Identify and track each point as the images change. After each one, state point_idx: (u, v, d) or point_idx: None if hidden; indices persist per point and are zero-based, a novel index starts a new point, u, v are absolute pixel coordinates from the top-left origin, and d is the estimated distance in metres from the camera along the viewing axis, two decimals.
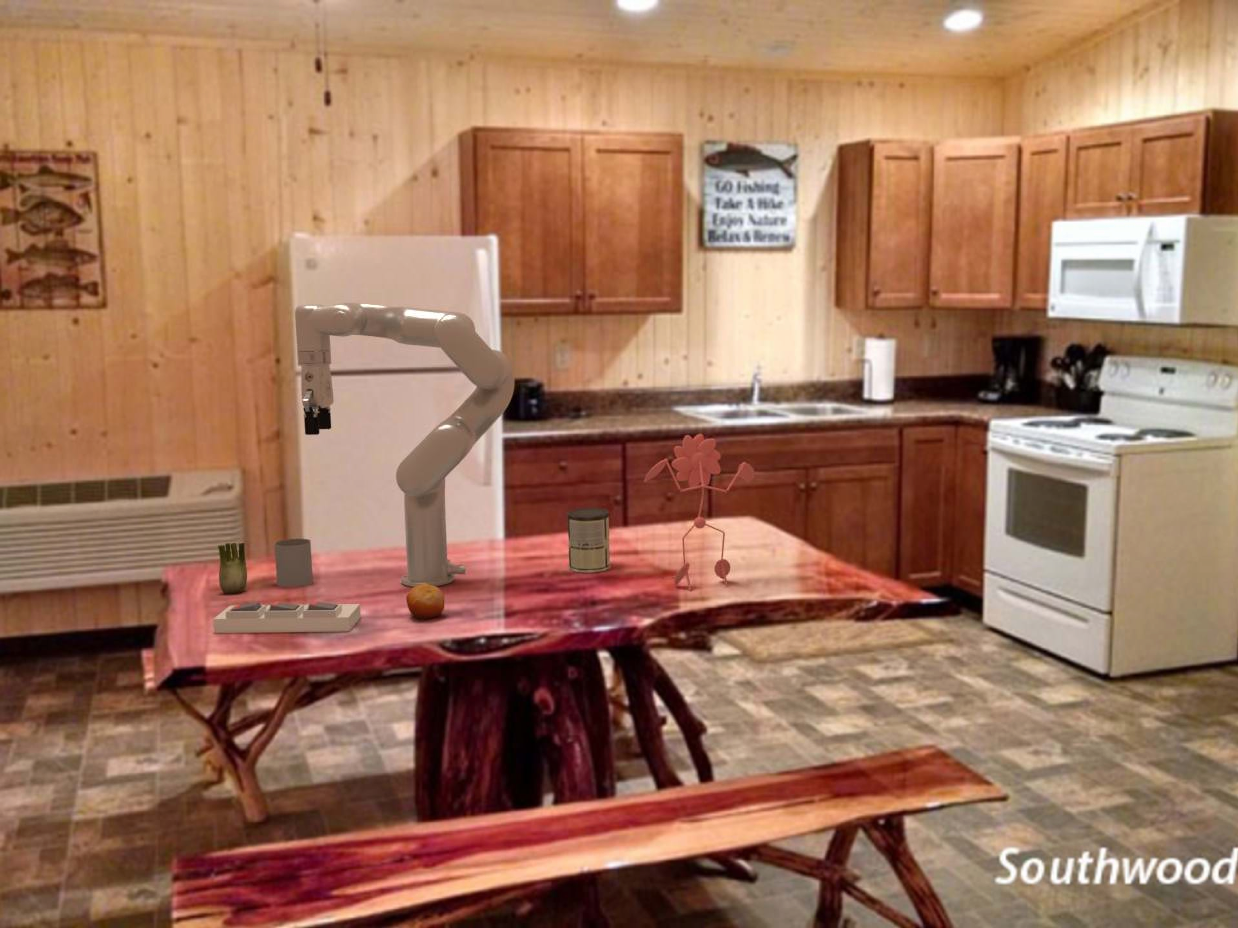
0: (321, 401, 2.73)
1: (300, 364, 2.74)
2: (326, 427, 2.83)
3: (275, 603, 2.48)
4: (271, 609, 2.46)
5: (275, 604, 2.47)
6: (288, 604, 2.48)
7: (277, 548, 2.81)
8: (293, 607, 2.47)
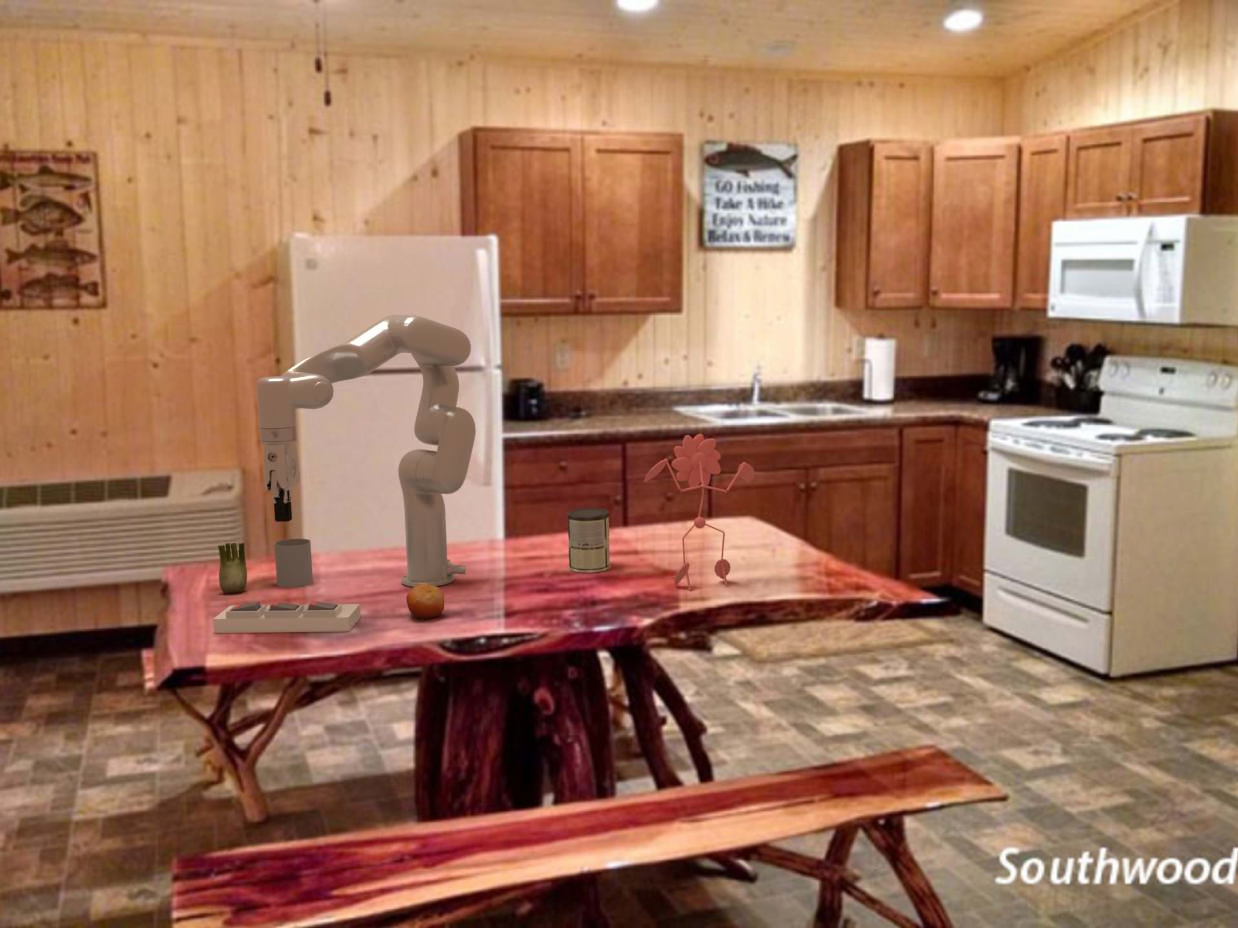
0: (285, 483, 2.48)
1: (262, 442, 2.49)
2: None
3: (275, 603, 2.48)
4: (271, 609, 2.46)
5: (275, 604, 2.47)
6: (288, 604, 2.48)
7: (277, 548, 2.81)
8: (293, 607, 2.47)
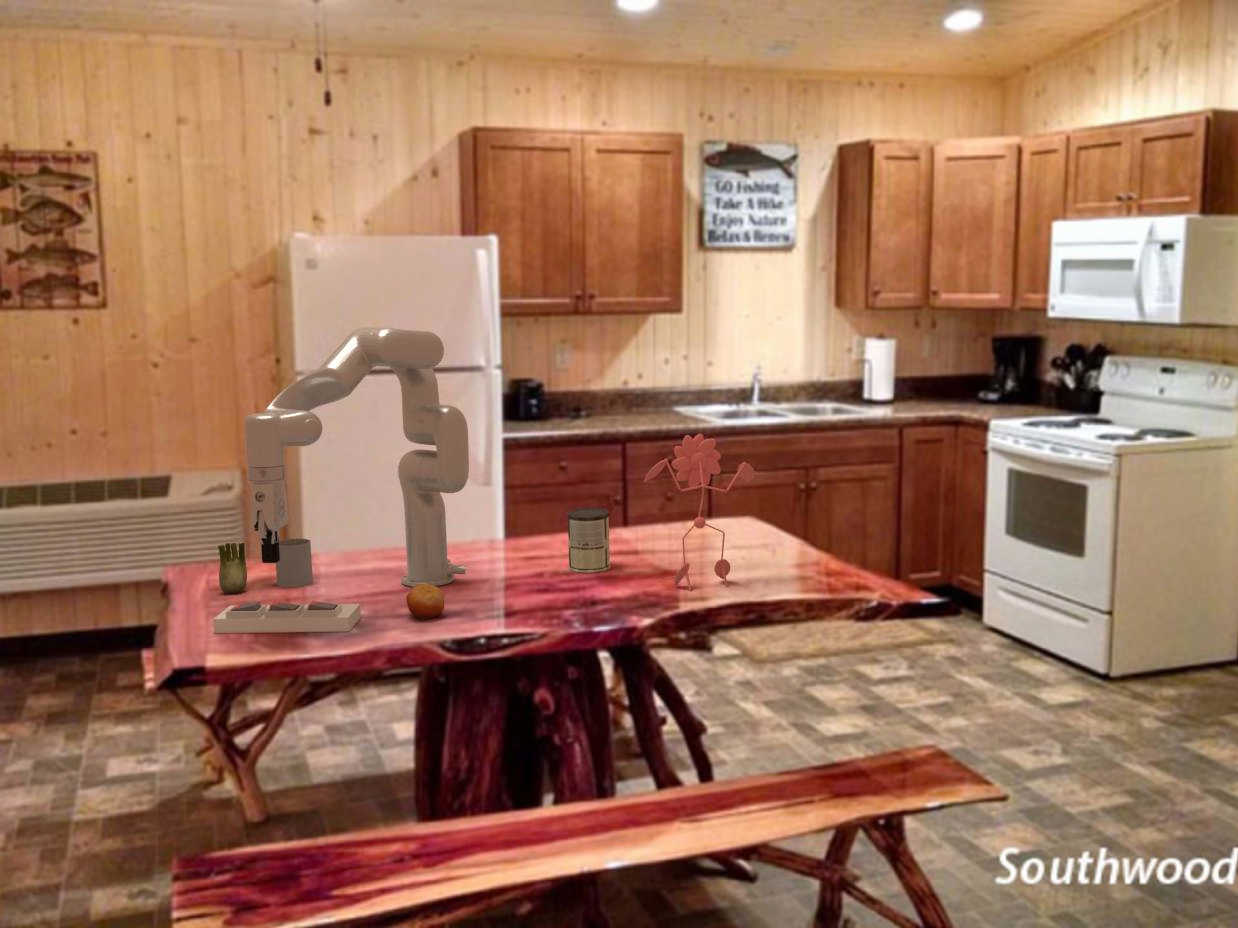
0: (273, 524, 2.40)
1: (250, 481, 2.41)
2: None
3: (275, 603, 2.48)
4: (271, 609, 2.46)
5: (275, 604, 2.47)
6: (288, 604, 2.48)
7: None
8: (293, 607, 2.47)
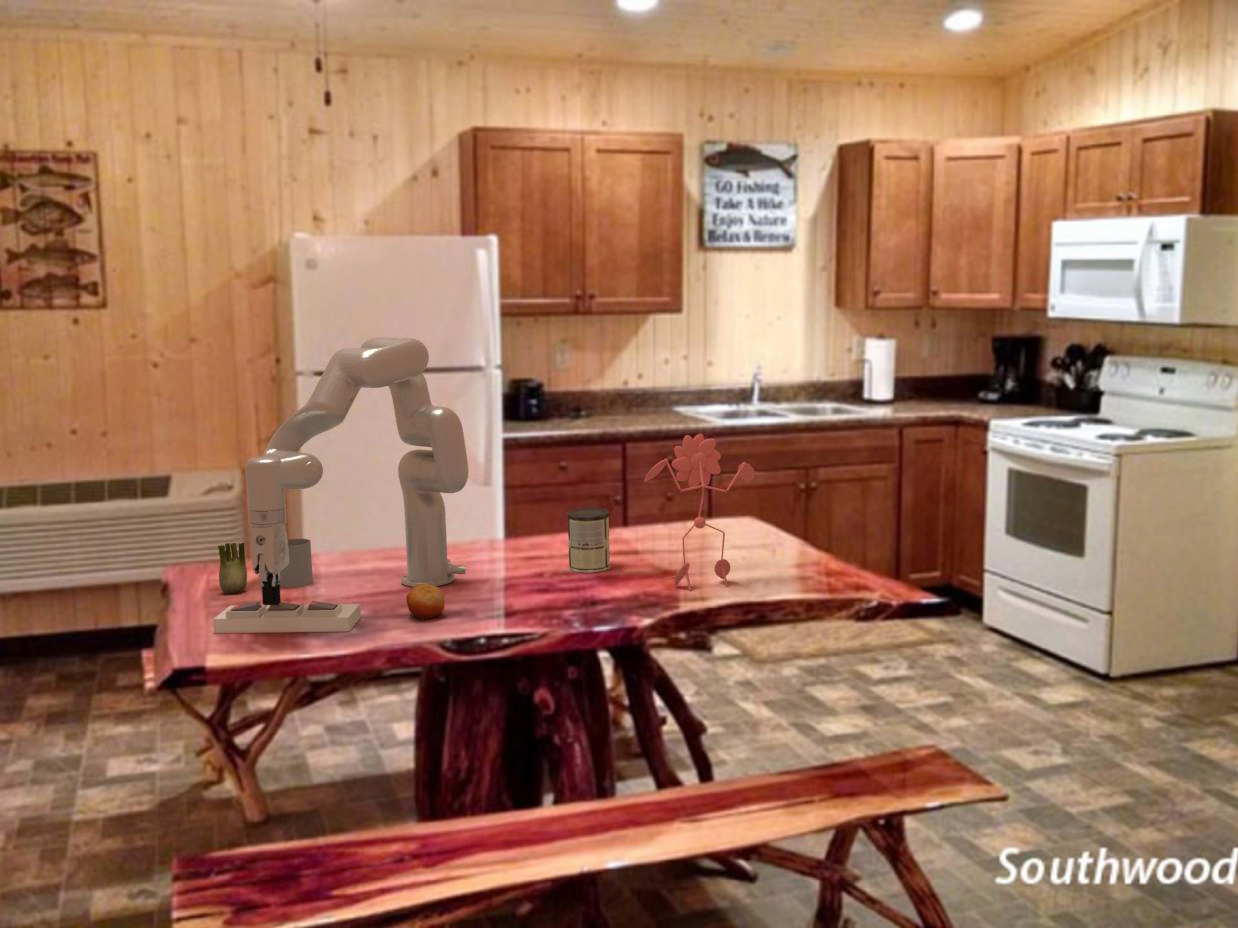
0: (274, 567, 2.41)
1: (251, 524, 2.42)
2: None
3: None
4: (271, 609, 2.46)
5: None
6: (288, 604, 2.48)
7: None
8: (293, 607, 2.47)
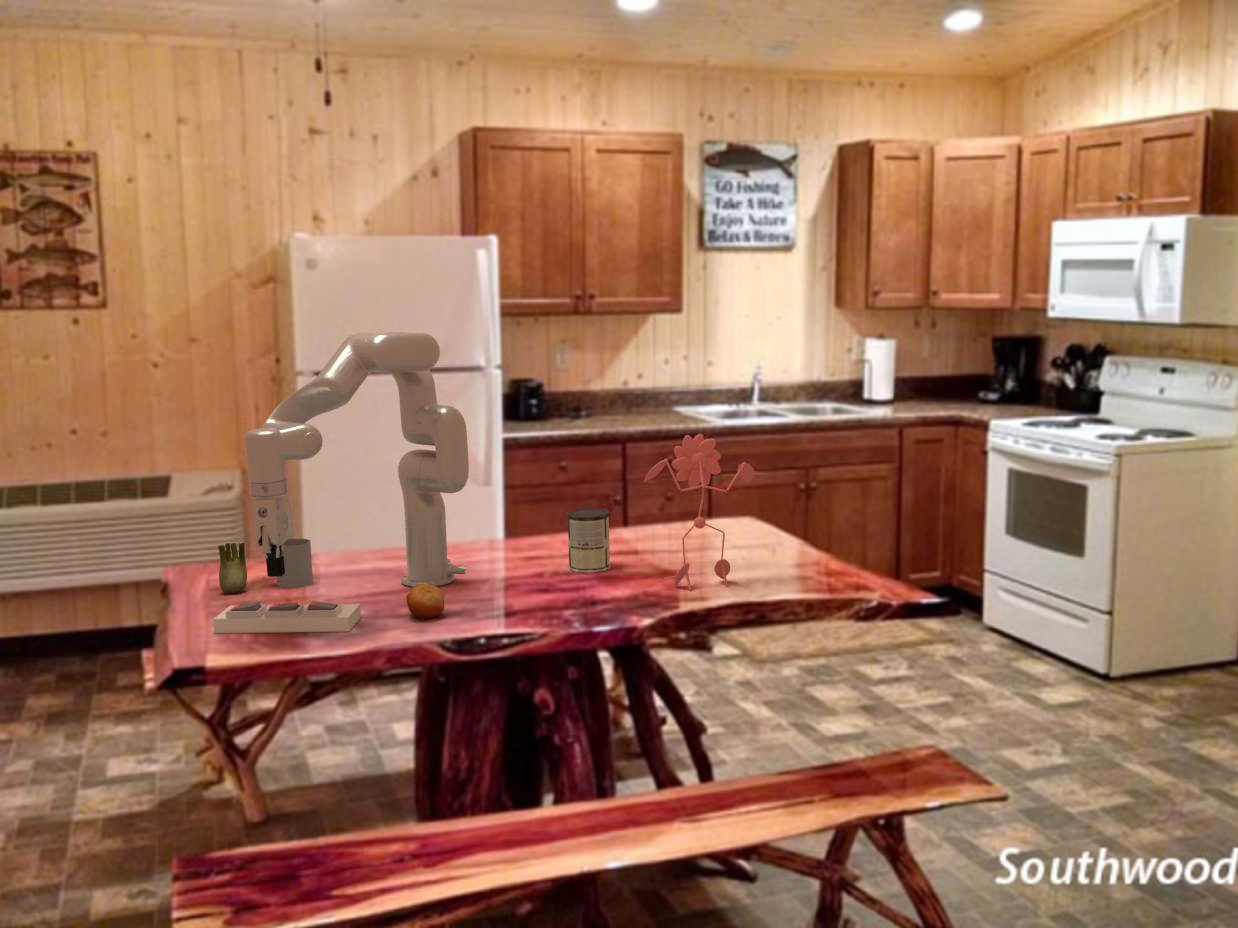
0: (277, 539, 2.41)
1: (252, 497, 2.41)
2: None
3: (274, 605, 2.48)
4: None
5: (274, 606, 2.47)
6: (287, 603, 2.48)
7: None
8: (292, 605, 2.47)
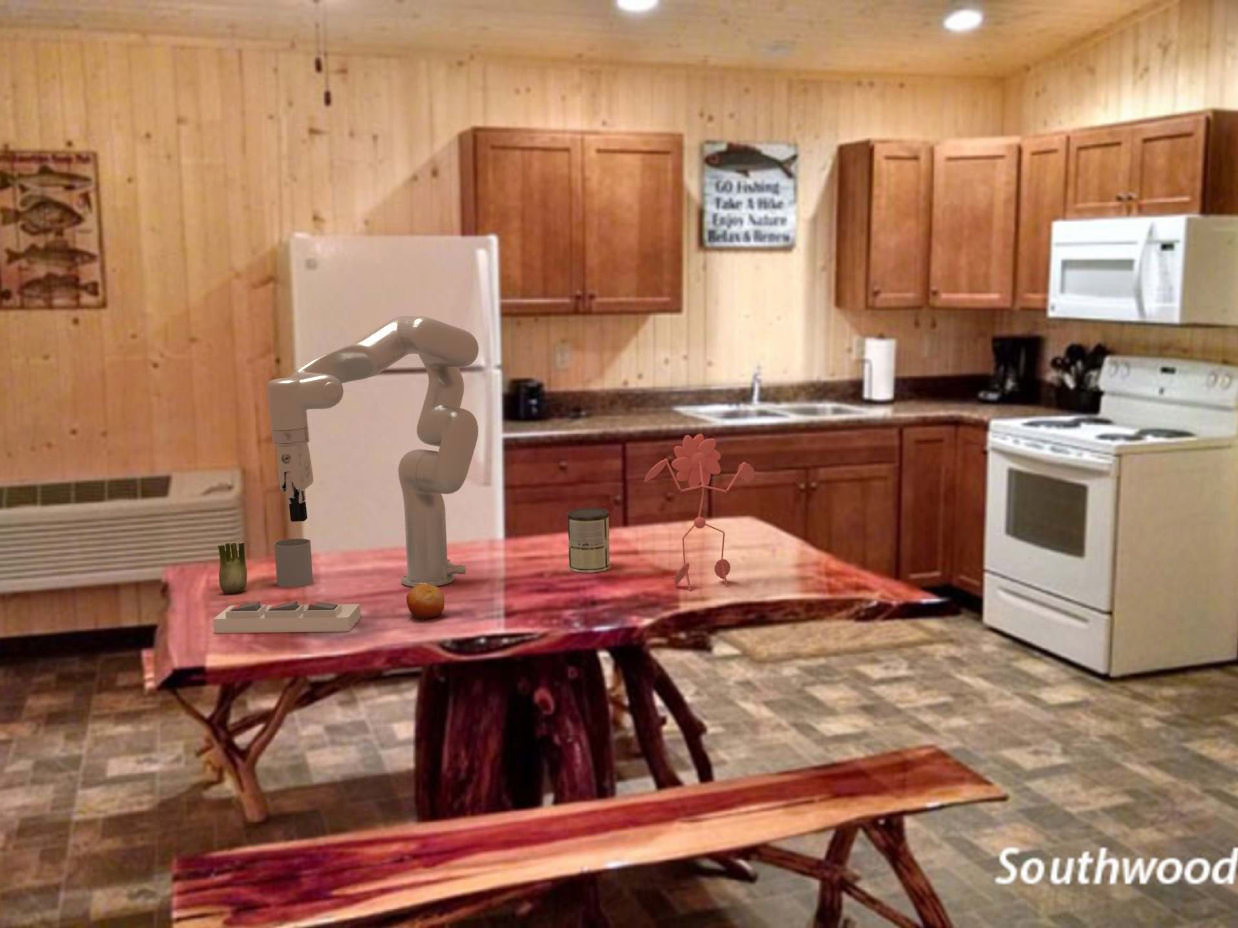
0: (300, 484, 2.50)
1: (275, 444, 2.50)
2: None
3: (274, 606, 2.48)
4: None
5: (274, 607, 2.47)
6: (287, 603, 2.48)
7: (277, 548, 2.81)
8: (292, 604, 2.47)
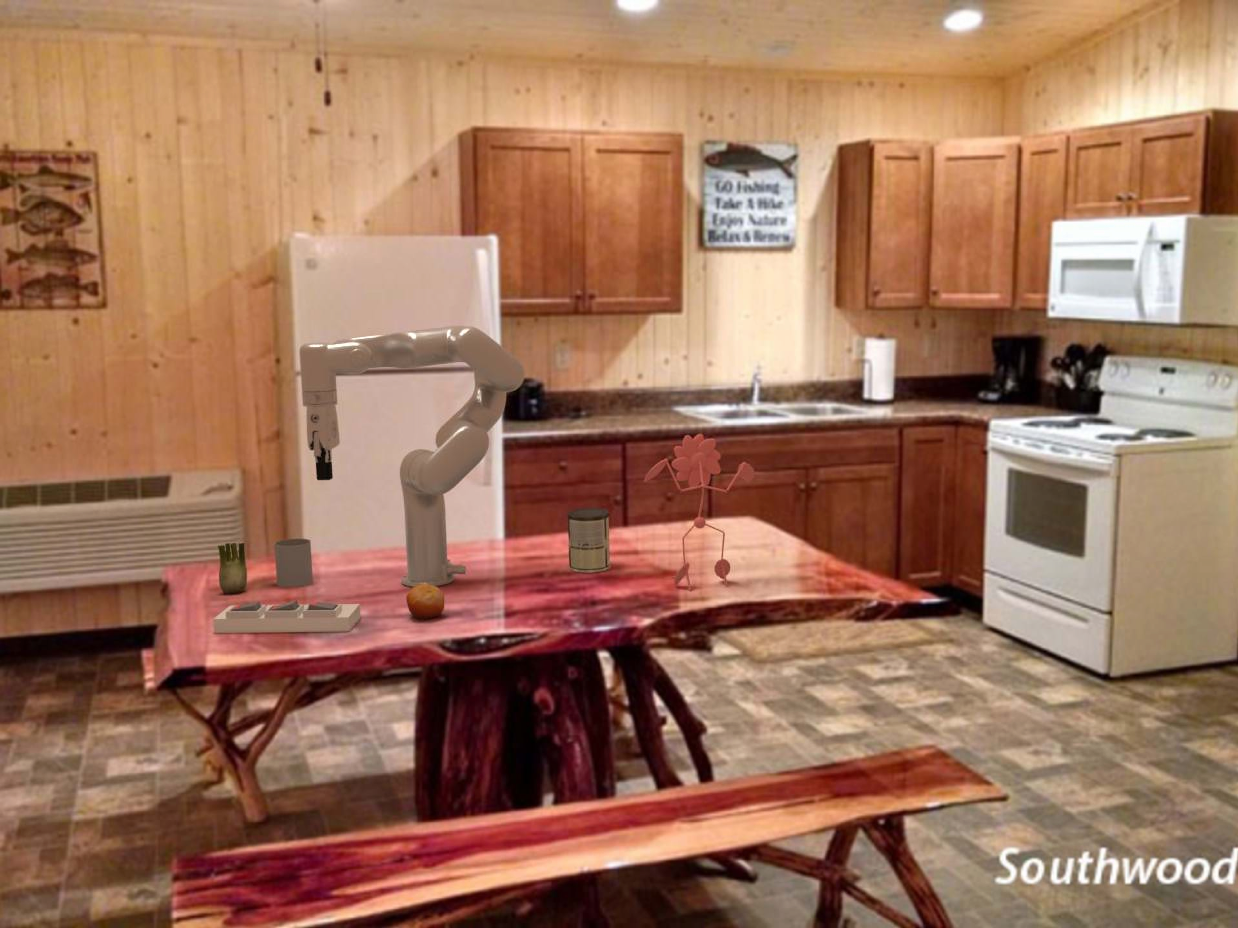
0: (327, 443, 2.63)
1: (305, 405, 2.64)
2: None
3: (274, 607, 2.48)
4: None
5: (274, 608, 2.47)
6: (287, 603, 2.48)
7: (277, 548, 2.81)
8: (291, 603, 2.47)
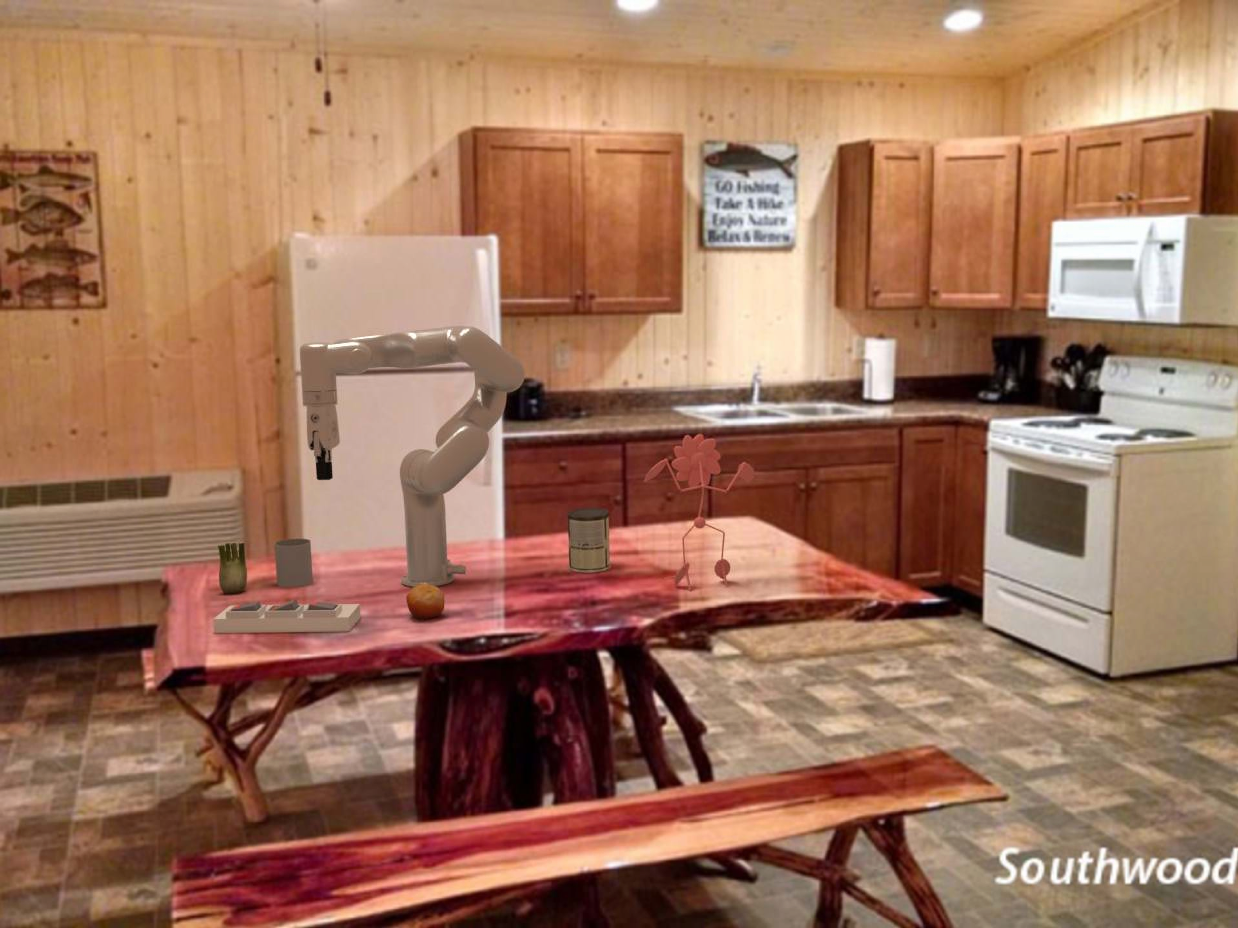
0: (327, 443, 2.63)
1: (305, 405, 2.64)
2: None
3: (274, 608, 2.48)
4: None
5: (274, 608, 2.47)
6: (286, 603, 2.48)
7: (277, 548, 2.81)
8: (291, 602, 2.47)
